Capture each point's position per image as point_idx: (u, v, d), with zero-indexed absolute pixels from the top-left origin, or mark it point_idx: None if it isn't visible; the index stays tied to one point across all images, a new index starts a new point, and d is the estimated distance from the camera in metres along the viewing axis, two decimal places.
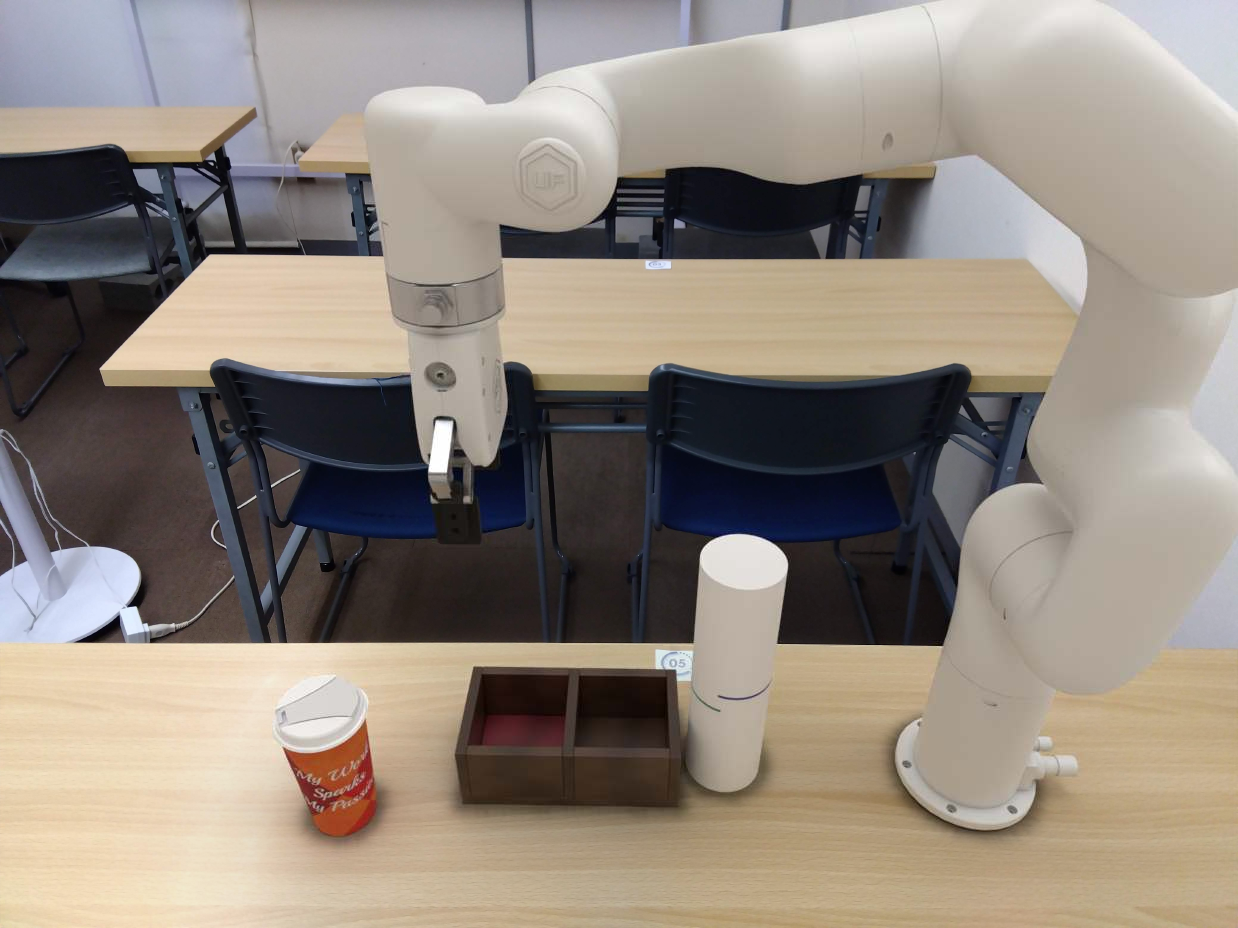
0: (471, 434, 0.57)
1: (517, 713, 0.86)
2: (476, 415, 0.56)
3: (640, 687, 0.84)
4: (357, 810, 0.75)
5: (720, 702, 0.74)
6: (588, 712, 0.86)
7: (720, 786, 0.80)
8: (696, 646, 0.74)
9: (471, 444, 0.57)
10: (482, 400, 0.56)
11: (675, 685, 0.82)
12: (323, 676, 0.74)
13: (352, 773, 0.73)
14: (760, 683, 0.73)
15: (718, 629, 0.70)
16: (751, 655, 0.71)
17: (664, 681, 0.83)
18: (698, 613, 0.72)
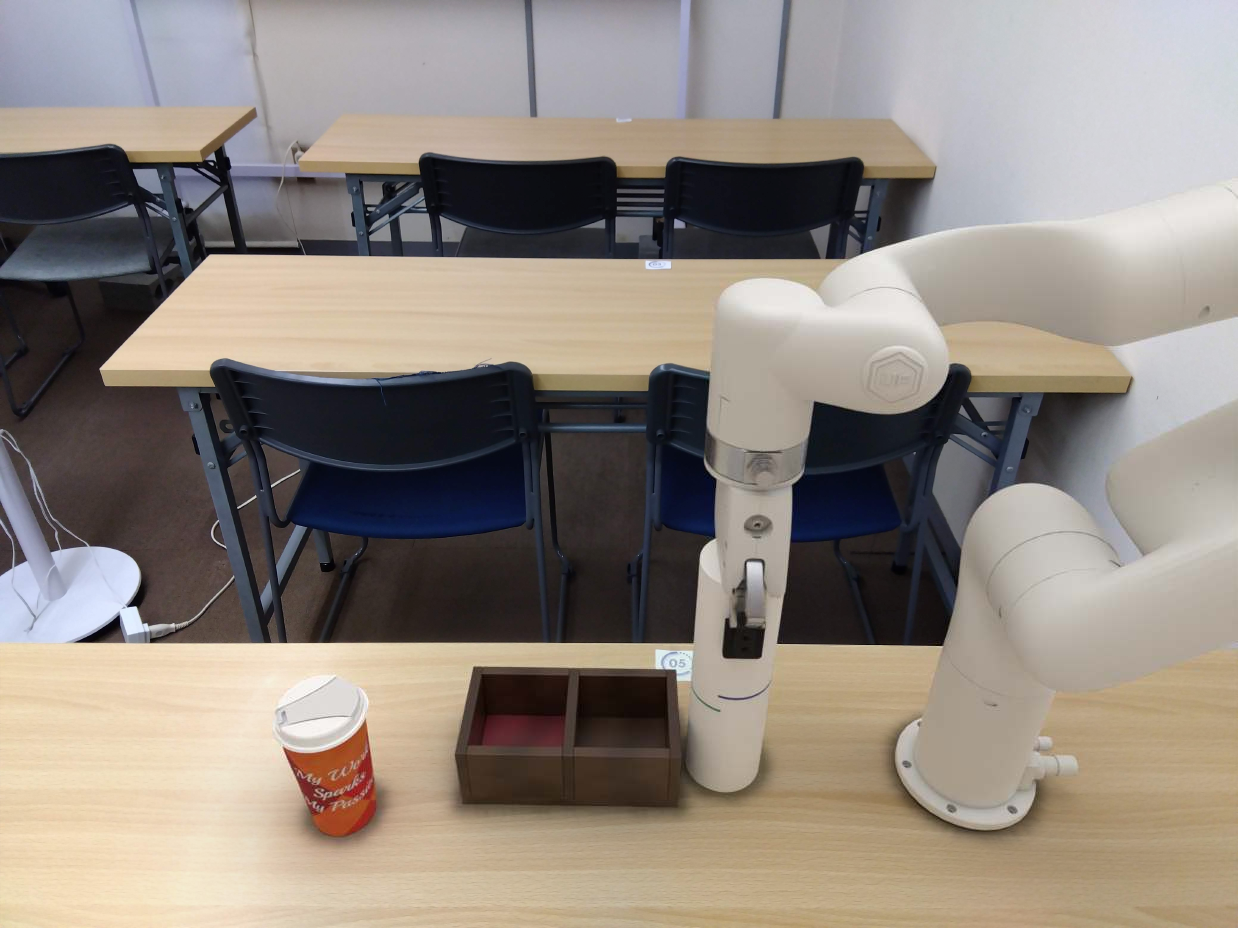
0: (776, 573, 0.64)
1: (517, 713, 0.86)
2: (783, 557, 0.63)
3: (640, 687, 0.84)
4: (357, 810, 0.75)
5: (720, 702, 0.74)
6: (588, 712, 0.86)
7: (720, 786, 0.80)
8: (696, 646, 0.74)
9: (774, 581, 0.64)
10: (789, 544, 0.63)
11: (675, 685, 0.82)
12: (323, 676, 0.74)
13: (352, 773, 0.73)
14: (760, 683, 0.73)
15: (718, 629, 0.70)
16: None
17: (664, 681, 0.83)
18: (698, 613, 0.72)
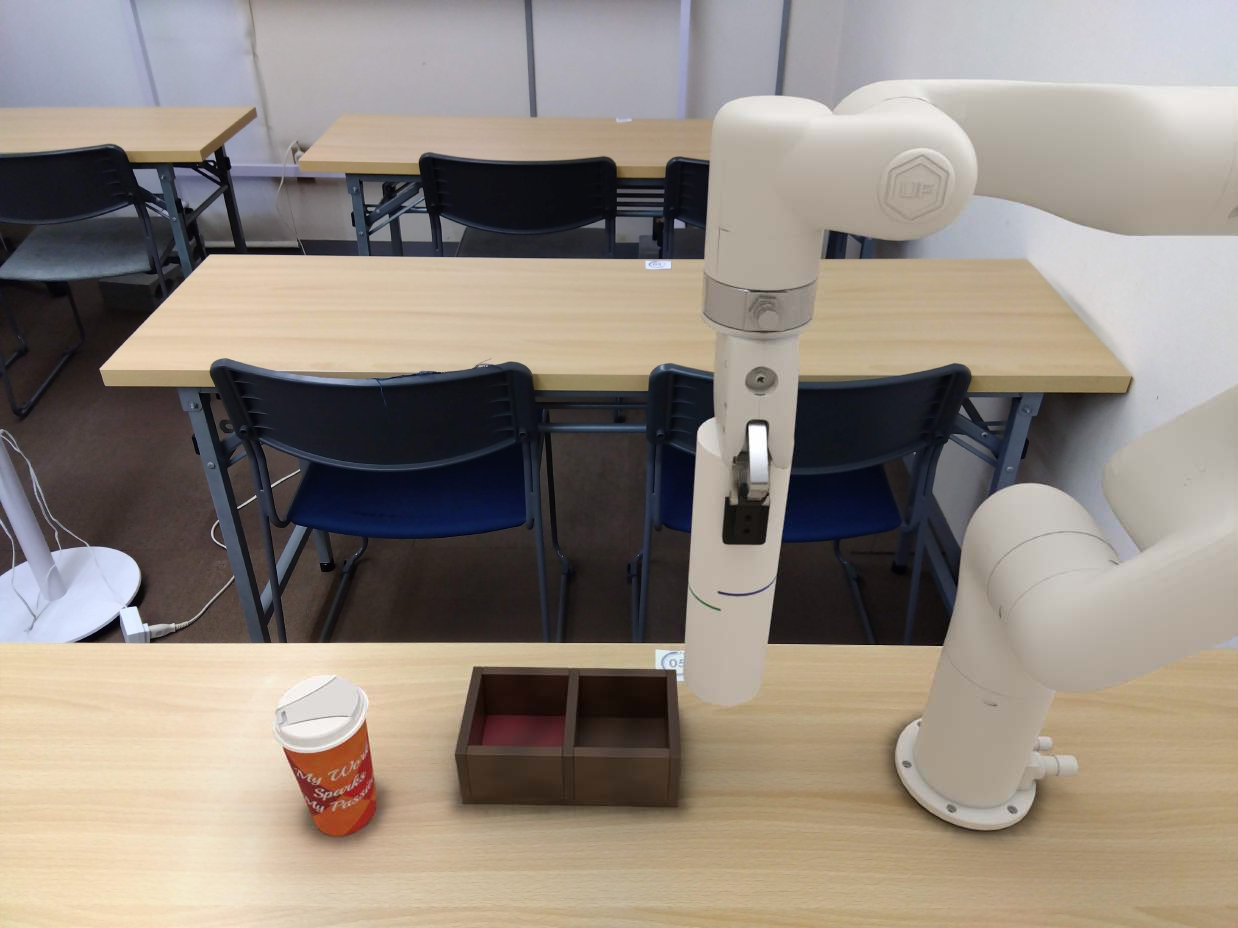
0: (781, 437, 0.57)
1: (517, 713, 0.86)
2: (789, 418, 0.57)
3: (640, 687, 0.84)
4: (357, 810, 0.75)
5: (720, 599, 0.68)
6: (588, 712, 0.86)
7: (721, 699, 0.73)
8: (694, 538, 0.67)
9: (779, 447, 0.58)
10: (796, 404, 0.57)
11: (675, 685, 0.82)
12: (323, 676, 0.74)
13: (352, 773, 0.73)
14: (764, 577, 0.67)
15: (717, 512, 0.63)
16: None
17: (664, 681, 0.83)
18: (695, 498, 0.65)
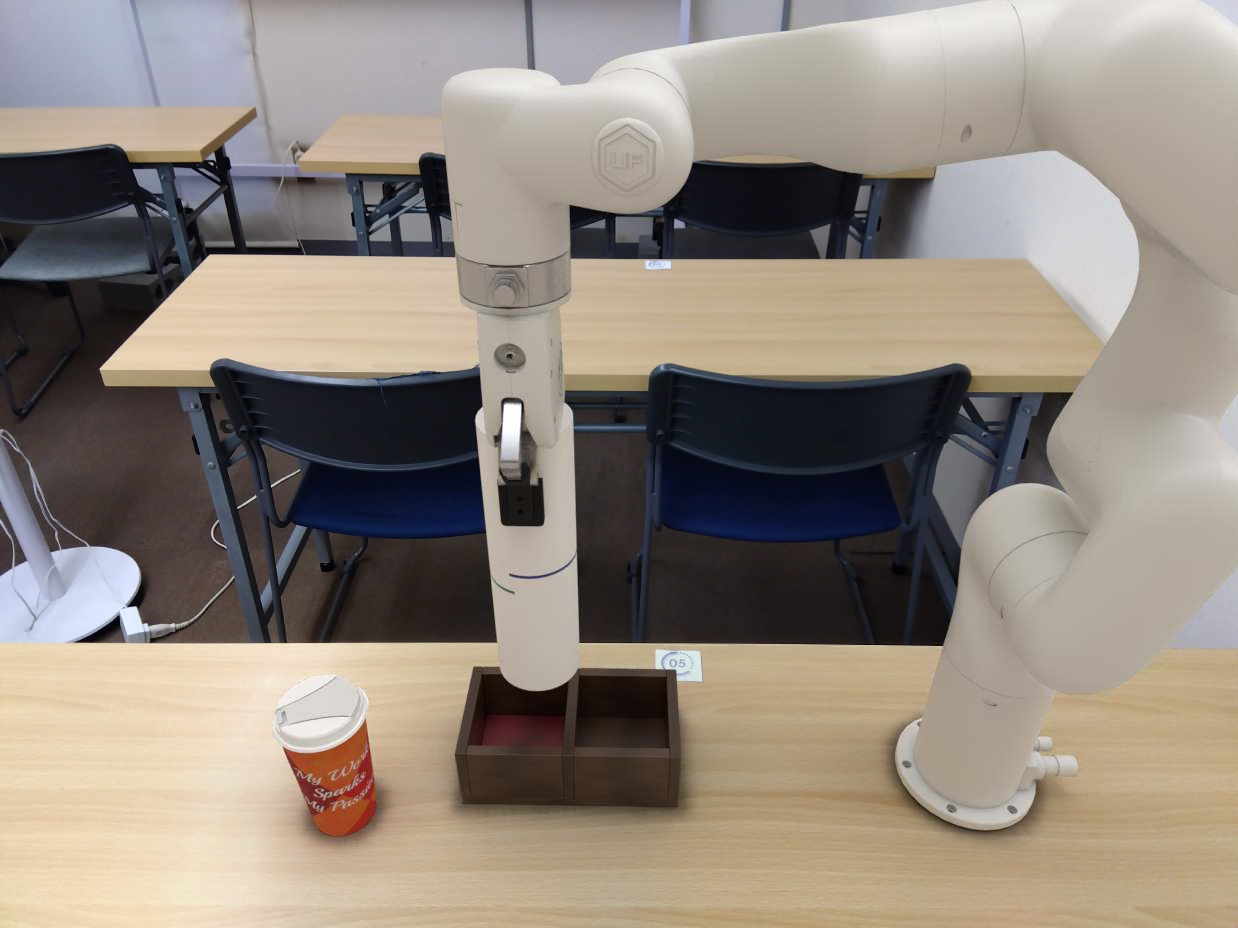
0: (538, 416, 0.57)
1: (517, 713, 0.86)
2: (544, 397, 0.56)
3: (640, 687, 0.84)
4: (357, 810, 0.75)
5: (512, 582, 0.67)
6: (588, 712, 0.86)
7: (529, 684, 0.73)
8: (485, 520, 0.67)
9: (537, 426, 0.57)
10: (550, 382, 0.56)
11: (675, 685, 0.82)
12: (323, 676, 0.74)
13: (352, 773, 0.73)
14: (554, 560, 0.66)
15: (496, 493, 0.63)
16: None
17: (664, 681, 0.83)
18: (481, 479, 0.65)
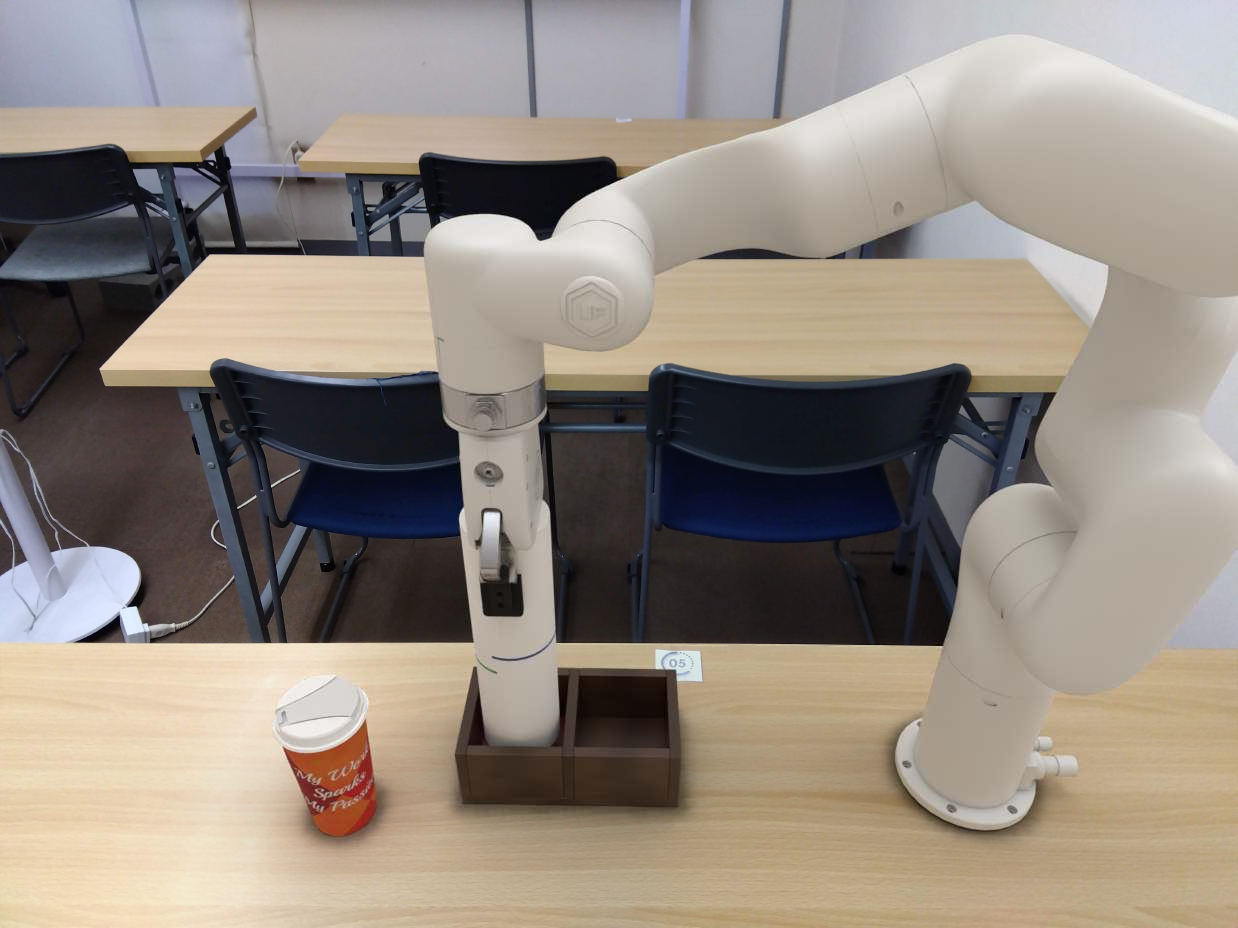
0: (515, 523, 0.62)
1: None
2: (520, 507, 0.61)
3: (640, 687, 0.84)
4: (357, 810, 0.75)
5: (495, 663, 0.72)
6: (588, 712, 0.86)
7: None
8: (469, 605, 0.72)
9: (515, 532, 0.62)
10: (526, 493, 0.61)
11: (675, 685, 0.82)
12: (323, 676, 0.74)
13: (352, 773, 0.73)
14: (534, 643, 0.71)
15: (479, 586, 0.68)
16: None
17: (664, 681, 0.83)
18: (465, 570, 0.70)
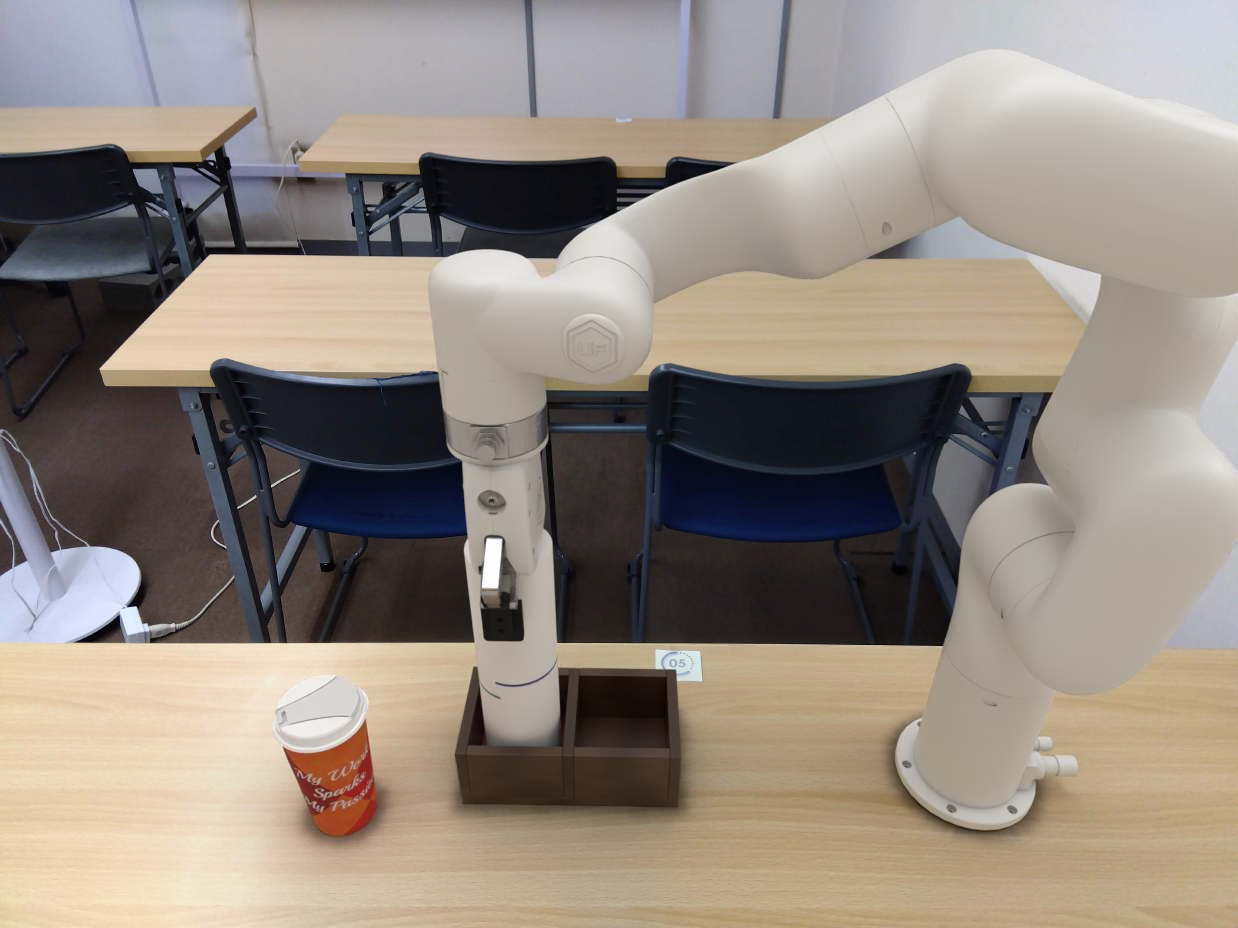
0: (518, 550, 0.63)
1: None
2: (523, 534, 0.62)
3: (640, 687, 0.84)
4: (357, 810, 0.75)
5: (498, 689, 0.74)
6: (588, 712, 0.86)
7: None
8: (473, 632, 0.73)
9: (517, 558, 0.63)
10: (528, 520, 0.62)
11: (675, 685, 0.82)
12: (323, 676, 0.74)
13: (353, 773, 0.73)
14: (536, 670, 0.73)
15: None
16: None
17: (664, 681, 0.83)
18: None
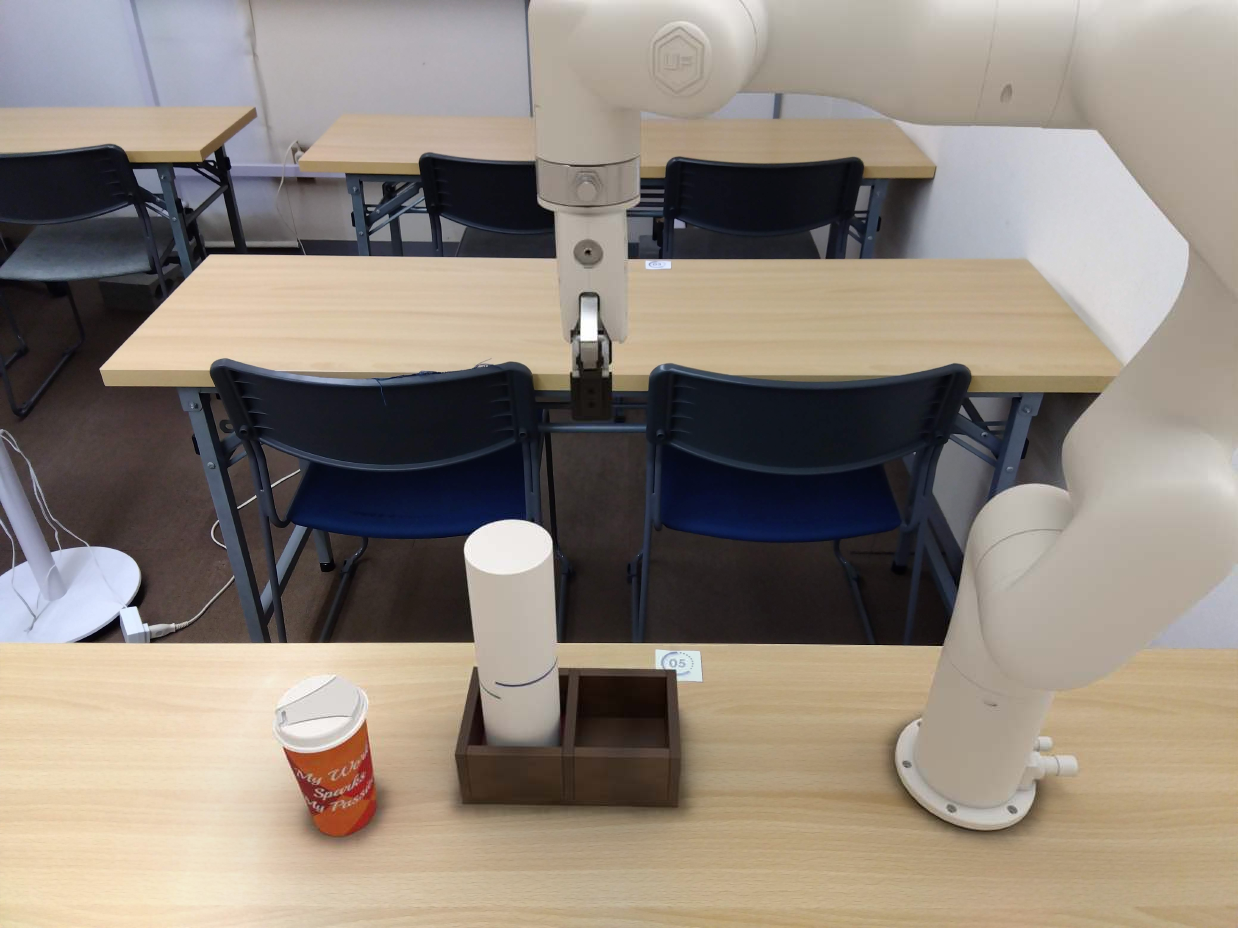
0: (612, 310, 0.62)
1: None
2: (618, 291, 0.61)
3: (640, 687, 0.84)
4: (357, 810, 0.75)
5: (498, 689, 0.74)
6: (588, 712, 0.86)
7: None
8: (473, 632, 0.73)
9: (611, 320, 0.62)
10: (624, 277, 0.61)
11: (675, 685, 0.82)
12: (323, 676, 0.74)
13: (353, 773, 0.73)
14: (536, 670, 0.73)
15: (483, 615, 0.69)
16: (519, 641, 0.70)
17: (664, 681, 0.83)
18: None
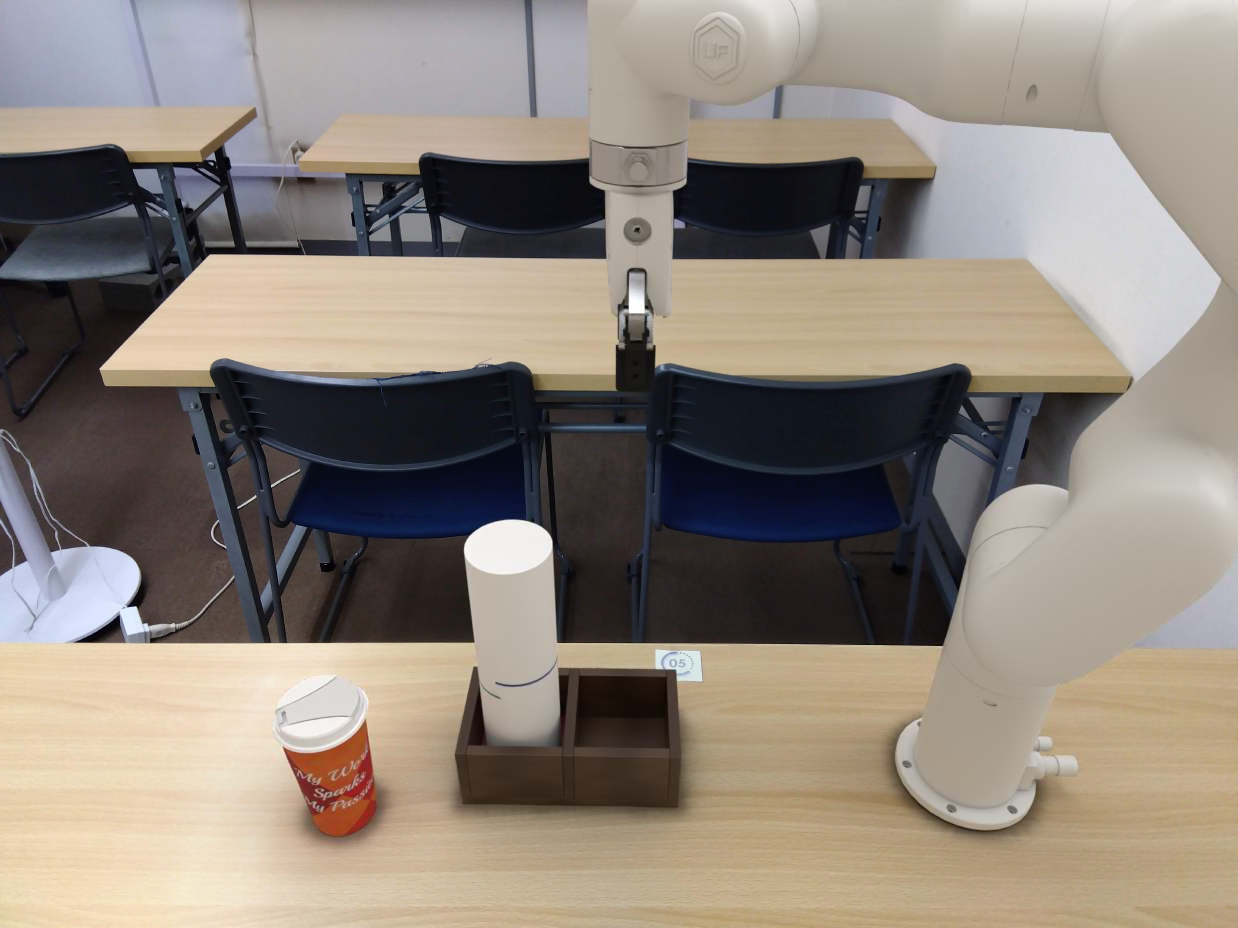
0: (658, 285, 0.65)
1: None
2: (664, 267, 0.65)
3: (640, 687, 0.84)
4: (357, 810, 0.75)
5: (498, 689, 0.74)
6: (588, 712, 0.86)
7: None
8: (473, 632, 0.73)
9: (657, 294, 0.66)
10: (670, 254, 0.65)
11: (675, 685, 0.82)
12: (323, 676, 0.74)
13: (353, 773, 0.73)
14: (536, 670, 0.73)
15: (483, 615, 0.69)
16: (519, 641, 0.70)
17: (664, 681, 0.83)
18: None
